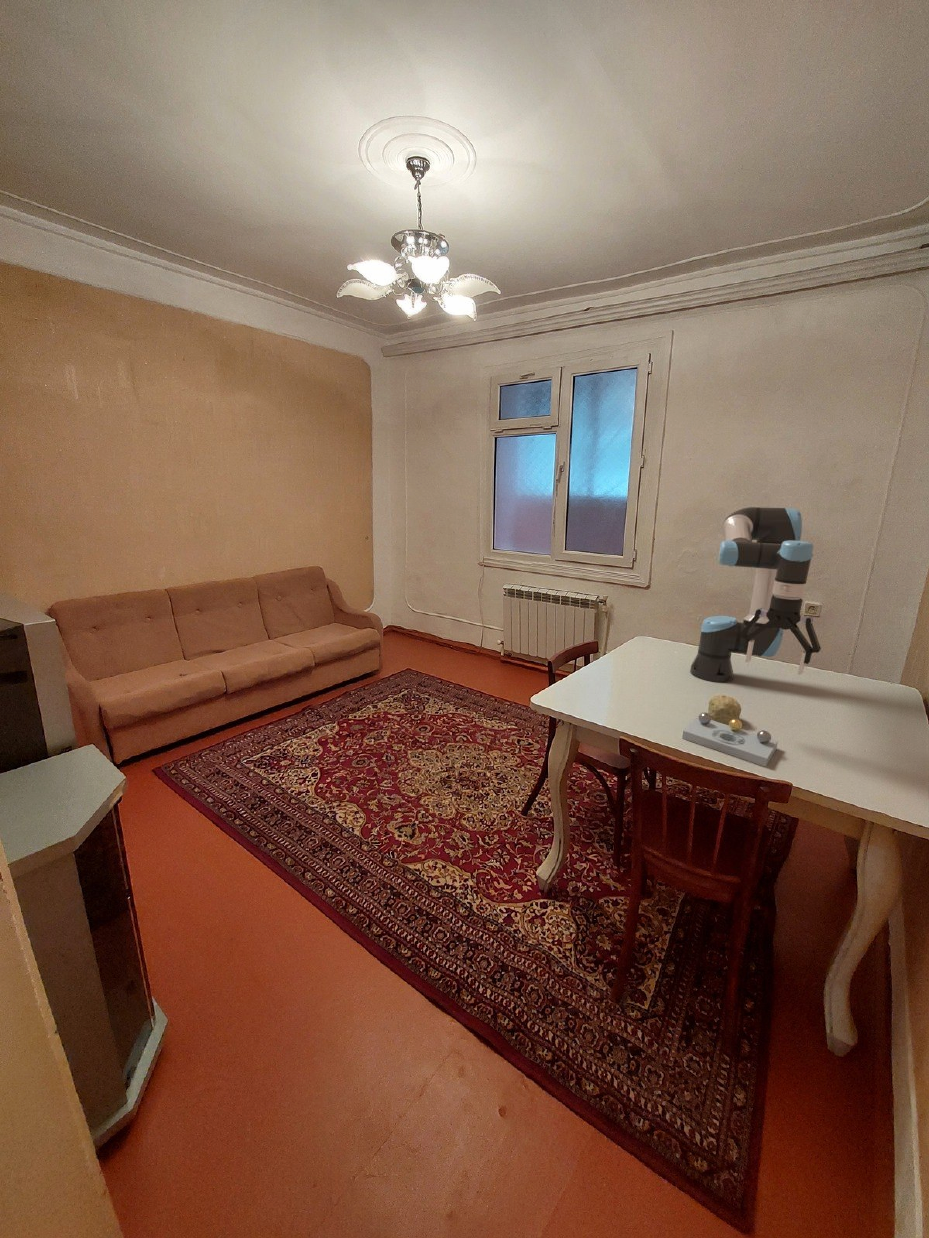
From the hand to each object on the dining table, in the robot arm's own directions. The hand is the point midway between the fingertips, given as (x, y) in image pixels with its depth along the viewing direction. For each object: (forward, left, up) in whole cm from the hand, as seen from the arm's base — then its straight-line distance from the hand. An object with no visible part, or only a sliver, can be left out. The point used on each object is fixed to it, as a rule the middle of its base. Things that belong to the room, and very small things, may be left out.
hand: (773, 667), depth 147 cm
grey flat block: (+14, -5, -22) cm, 26 cm away
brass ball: (+9, -5, -17) cm, 20 cm away
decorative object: (-2, -11, -22) cm, 25 cm away
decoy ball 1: (+11, -13, -17) cm, 24 cm away
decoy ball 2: (+11, +3, -17) cm, 21 cm away
